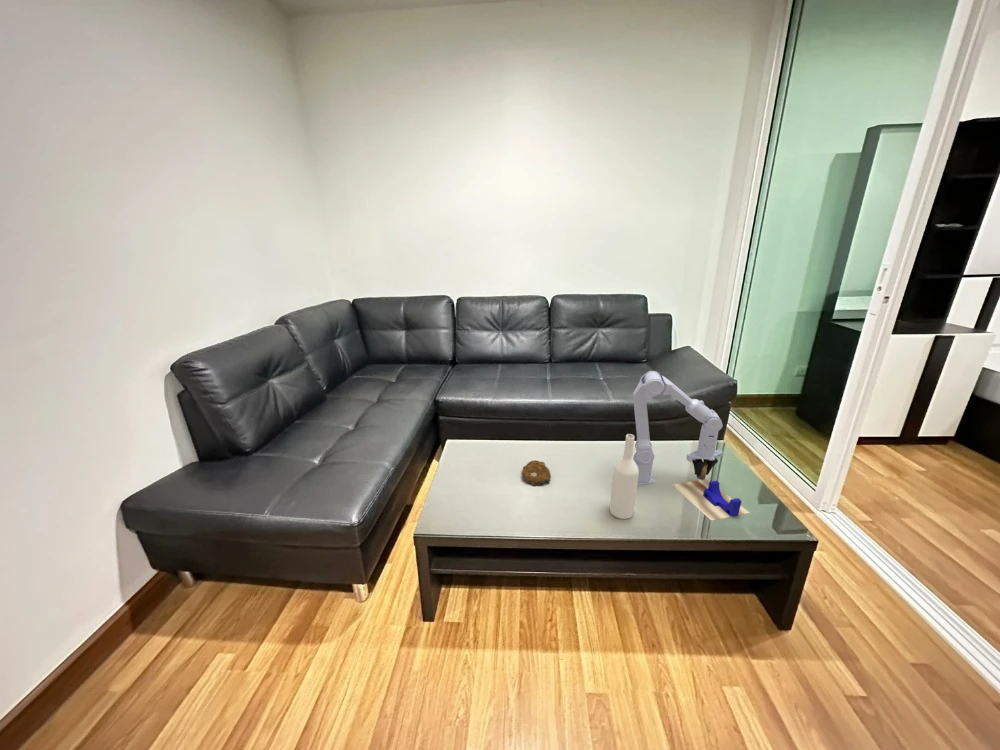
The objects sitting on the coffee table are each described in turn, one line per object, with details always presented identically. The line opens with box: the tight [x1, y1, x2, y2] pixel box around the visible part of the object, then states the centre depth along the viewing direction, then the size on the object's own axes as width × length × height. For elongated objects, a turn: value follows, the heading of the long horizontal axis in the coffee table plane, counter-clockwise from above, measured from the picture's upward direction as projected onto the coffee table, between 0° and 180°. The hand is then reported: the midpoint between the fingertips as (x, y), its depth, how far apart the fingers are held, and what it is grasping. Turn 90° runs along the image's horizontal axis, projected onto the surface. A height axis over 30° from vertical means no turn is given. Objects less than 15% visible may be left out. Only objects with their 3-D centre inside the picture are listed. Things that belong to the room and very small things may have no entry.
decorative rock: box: [522, 460, 552, 487], centre depth 159 cm, size 11×4×15 cm
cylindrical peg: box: [696, 462, 708, 480], centre depth 149 cm, size 3×3×6 cm
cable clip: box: [703, 480, 742, 517], centre depth 140 cm, size 12×4×6 cm, turn 12°
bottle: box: [609, 433, 639, 520], centre depth 133 cm, size 8×8×30 cm
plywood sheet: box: [671, 478, 751, 521], centre depth 144 cm, size 16×21×1 cm
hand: (701, 474), depth 150 cm, fingers closed on cylindrical peg, 3 cm apart
